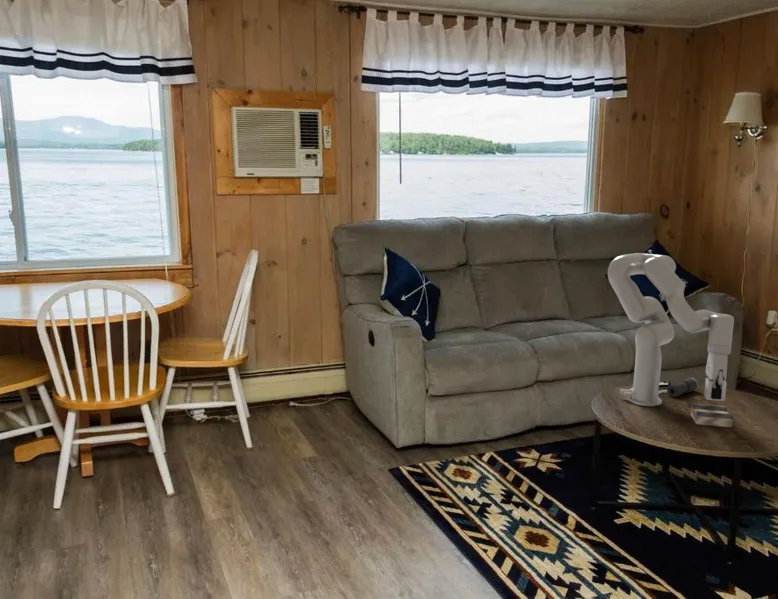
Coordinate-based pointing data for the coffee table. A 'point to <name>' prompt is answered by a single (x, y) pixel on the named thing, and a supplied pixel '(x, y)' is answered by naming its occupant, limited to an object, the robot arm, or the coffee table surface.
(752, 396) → the coffee table surface
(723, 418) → the cradle
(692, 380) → the flashlight
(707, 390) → the tall white block
